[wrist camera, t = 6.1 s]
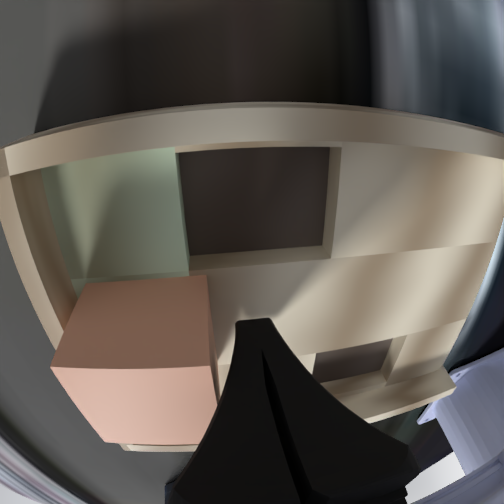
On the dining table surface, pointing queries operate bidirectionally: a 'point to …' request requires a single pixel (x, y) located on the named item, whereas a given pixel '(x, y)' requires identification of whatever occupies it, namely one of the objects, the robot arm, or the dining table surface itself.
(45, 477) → the dining table surface
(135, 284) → the block
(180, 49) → the dining table surface
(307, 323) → the tray
